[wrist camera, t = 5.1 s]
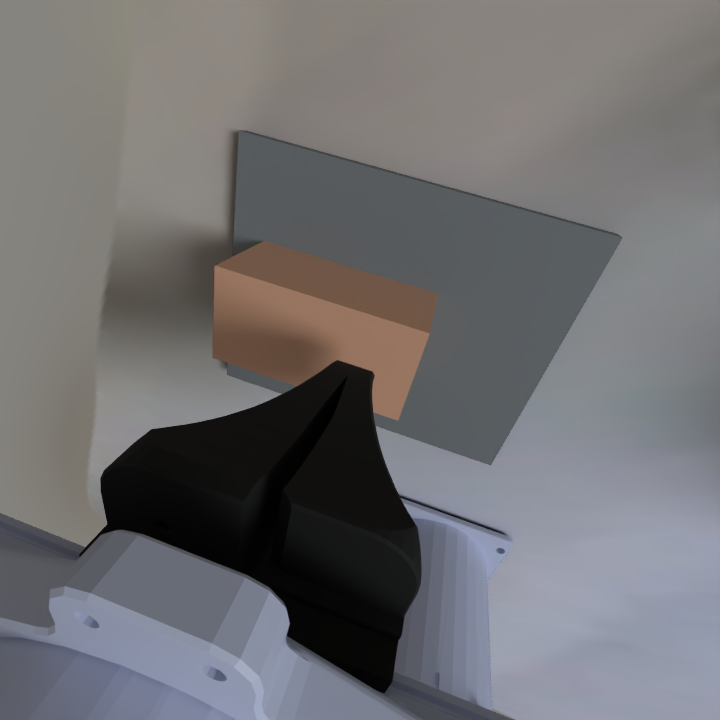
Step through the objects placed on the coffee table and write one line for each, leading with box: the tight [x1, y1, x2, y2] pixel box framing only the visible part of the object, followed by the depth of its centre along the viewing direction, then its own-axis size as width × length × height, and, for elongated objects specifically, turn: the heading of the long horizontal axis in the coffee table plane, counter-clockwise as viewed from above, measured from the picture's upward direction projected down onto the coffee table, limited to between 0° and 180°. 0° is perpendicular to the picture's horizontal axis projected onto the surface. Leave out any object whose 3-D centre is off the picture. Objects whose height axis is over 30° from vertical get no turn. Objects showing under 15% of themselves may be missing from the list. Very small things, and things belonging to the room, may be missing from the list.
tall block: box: [213, 241, 438, 421], centre depth 16 cm, size 4×4×8 cm
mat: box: [227, 131, 622, 465], centre depth 18 cm, size 12×15×1 cm
